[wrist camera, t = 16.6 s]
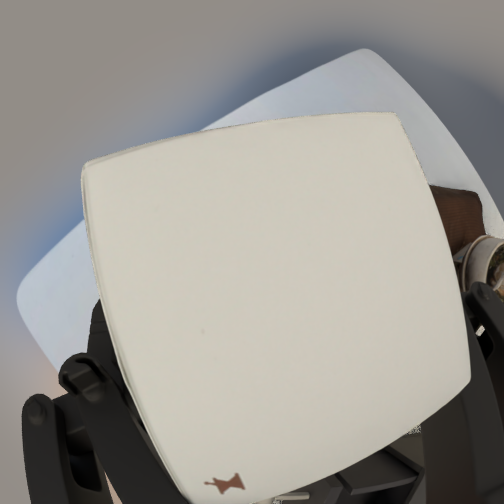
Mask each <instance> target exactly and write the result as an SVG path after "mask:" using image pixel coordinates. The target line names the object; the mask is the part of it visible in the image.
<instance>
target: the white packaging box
mask: <svg viewBox="0 0 504 504" xmlns="http://www.w3.org/2000/svg"><path fill="white" fill-rule="evenodd" d="M81 189H82V200H83V210H84V218H85V224H86V230H87V236H88V242H89V248H90V253H91V259H92V264H93V269H94V274H95V279H96V283H97V288H98V292H99V296H100V300H101V304H102V308H103V311H104V315H105V318H106V322H107V326H108V329H109V333H110V336H111V340H112V343H113V347H114V350H115V354H116V357H117V361H118V365H119V367H120V370H121V373H122V376H123V379H124V382H125V384H126V386H127V388H128V390H129V392H130V394H131V396H132V398H133V400H134V403H135V405H136V407H137V409H138V412H139V414H140V417H141V419H142V421H143V423H144V426H145V428H146V430H147V432H148V434H149V436H150V438H151V440H152V442H153V444H154V446H155V448H156V450H157V452H158V454H159V456H160V458H161V459H162V461H163V463H164V465H165V467H166V469H167V470H168V472H169V474H170V476H171V478H172V479H173V481H174V483H175V484H176V486H177V488H178V489H179V491H180V493H181V494H182V496H183V497H184V498H185V499H186V501H187V502H188V503H189V504H251V503H254V502H258V501H262V500H265V499H269V498H272V497H275V496H278V495H281V494H284V493H287V492H290V491H293V490H296V489H298V488H301V487H303V486H306V485H309V484H311V483H313V482H316V481H318V480H321V479H323V478H325V477H327V476H330V475H332V474H334V473H336V472H339V471H341V470H343V469H345V468H347V467H349V466H351V465H353V464H355V463H357V462H358V461H360V460H362V459H364V458H366V457H368V456H369V455H371V454H373V453H375V452H377V451H378V450H380V449H382V448H384V447H385V446H387V445H389V444H390V443H392V442H393V441H395V440H397V439H398V438H400V437H401V436H403V435H404V434H406V433H407V432H409V431H410V430H412V429H413V428H415V427H416V426H417V425H419V424H420V423H422V422H423V421H424V420H426V419H427V418H428V417H430V416H431V415H433V414H434V413H435V412H437V411H438V410H439V409H440V408H441V407H443V406H444V405H446V404H447V403H448V402H449V401H450V400H451V399H453V398H454V397H455V396H456V395H457V394H458V393H459V392H460V391H461V390H462V389H463V388H464V387H465V386H466V385H467V384H468V383H469V382H470V379H471V369H470V355H469V347H468V338H467V330H466V324H465V317H464V311H463V305H462V299H461V294H460V289H459V284H458V280H457V275H456V271H455V267H454V262H453V258H452V255H451V251H450V247H449V244H448V240H447V237H446V233H445V230H444V227H443V224H442V221H441V218H440V215H439V212H438V209H437V206H436V203H435V200H434V198H433V195H432V192H431V190H430V187H429V184H428V182H427V179H426V177H425V174H424V172H423V170H422V167H421V165H420V163H419V160H418V158H417V156H416V154H415V151H414V149H413V147H412V145H411V143H410V141H409V138H408V136H407V134H406V132H405V130H404V128H403V126H402V124H401V122H400V120H399V119H398V117H397V115H396V114H395V113H394V112H364V113H338V114H324V115H311V116H300V117H290V118H282V119H274V120H267V121H260V122H254V123H248V124H242V125H235V126H228V127H222V128H216V129H210V130H205V131H200V132H195V133H190V134H185V135H180V136H175V137H171V138H166V139H162V140H158V141H154V142H150V143H146V144H142V145H139V146H135V147H132V148H128V149H125V150H121V151H118V152H115V153H111V154H108V155H104V156H101V157H98V158H94V159H91V160H90V161H88V162H86V163H85V164H84V166H83V169H82V173H81Z"/></svg>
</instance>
